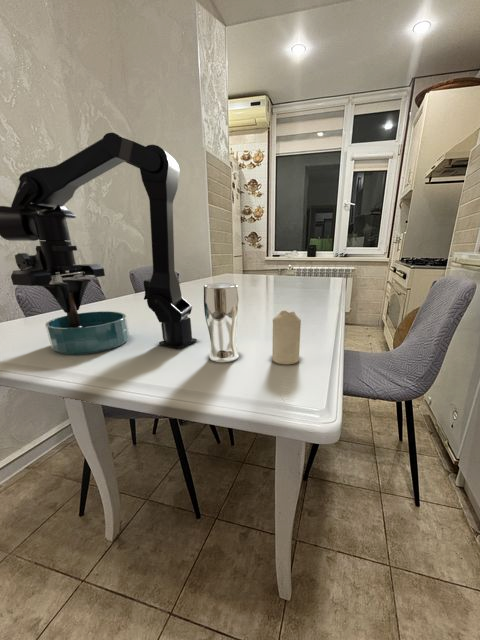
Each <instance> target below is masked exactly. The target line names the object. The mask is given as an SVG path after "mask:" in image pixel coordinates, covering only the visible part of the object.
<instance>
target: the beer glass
mask: <svg viewBox="0 0 480 640" xmlns="http://www.w3.org/2000/svg"><path fill="white" fill-rule="evenodd" d="M239 298H240V297H239V290H238V284H236V283H232V282H231V283H230V282H217V283H215V282H214V283H206V284H203V312H204V318H205V323H206V326H207V330H208V334H209V340H210V348H209V359H210V360H211V361H212V362H216V363H229V362H233V361H236V360H237V359H238V358H239V356H240V355H239V351H238V350H239V349H238V346H237V333H238V326H239V317H240V299H239Z"/></svg>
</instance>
